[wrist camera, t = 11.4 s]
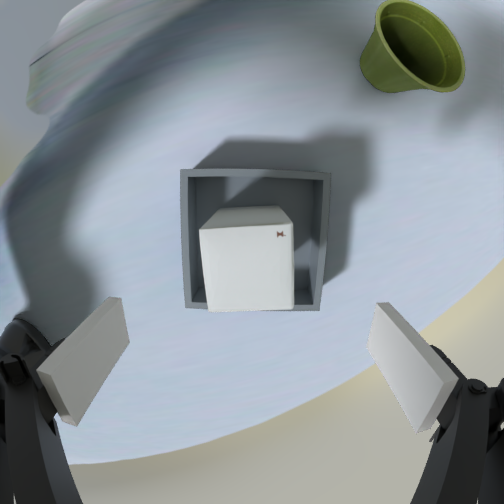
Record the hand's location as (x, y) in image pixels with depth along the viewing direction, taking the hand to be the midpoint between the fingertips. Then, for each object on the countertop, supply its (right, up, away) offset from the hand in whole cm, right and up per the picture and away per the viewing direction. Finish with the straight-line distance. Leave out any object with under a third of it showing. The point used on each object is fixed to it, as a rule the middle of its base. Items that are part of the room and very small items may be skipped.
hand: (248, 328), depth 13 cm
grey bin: (0, +6, +21) cm, 22 cm away
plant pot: (+18, +28, +15) cm, 37 cm away
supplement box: (0, +6, +21) cm, 21 cm away
